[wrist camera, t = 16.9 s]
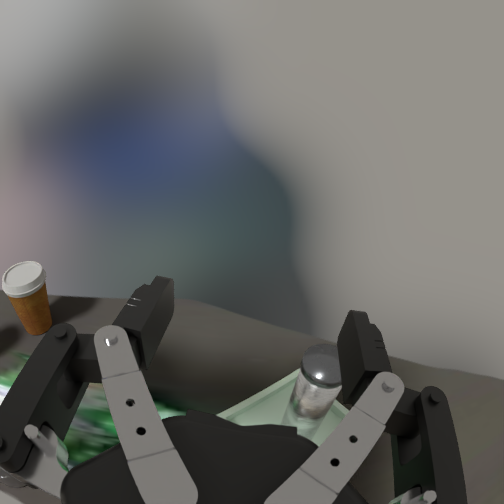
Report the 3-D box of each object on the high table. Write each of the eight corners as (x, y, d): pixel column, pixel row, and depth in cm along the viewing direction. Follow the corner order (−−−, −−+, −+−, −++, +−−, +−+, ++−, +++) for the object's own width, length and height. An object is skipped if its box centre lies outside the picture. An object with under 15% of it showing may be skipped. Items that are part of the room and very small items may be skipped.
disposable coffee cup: (32, 306, 50) (17, 257, 45) (66, 313, 51) (53, 262, 45) (11, 335, 42) (-9, 284, 36) (46, 345, 43) (26, 292, 37)
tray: (289, 505, 26) (294, 501, 25) (214, 424, 37) (215, 415, 36) (366, 438, 36) (373, 430, 35) (295, 377, 46) (299, 368, 45)
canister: (294, 454, 32) (330, 390, 25) (269, 430, 36) (292, 358, 28) (321, 434, 36) (361, 363, 28) (296, 412, 39) (325, 337, 31)
